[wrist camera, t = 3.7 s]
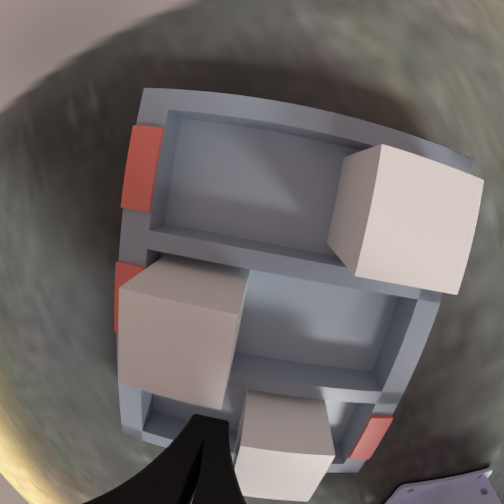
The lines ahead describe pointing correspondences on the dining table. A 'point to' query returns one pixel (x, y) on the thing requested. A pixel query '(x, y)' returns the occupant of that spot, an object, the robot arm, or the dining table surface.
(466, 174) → the tab near
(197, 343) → the tab mid
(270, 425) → the tab far
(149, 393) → the switch bank
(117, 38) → the dining table surface
